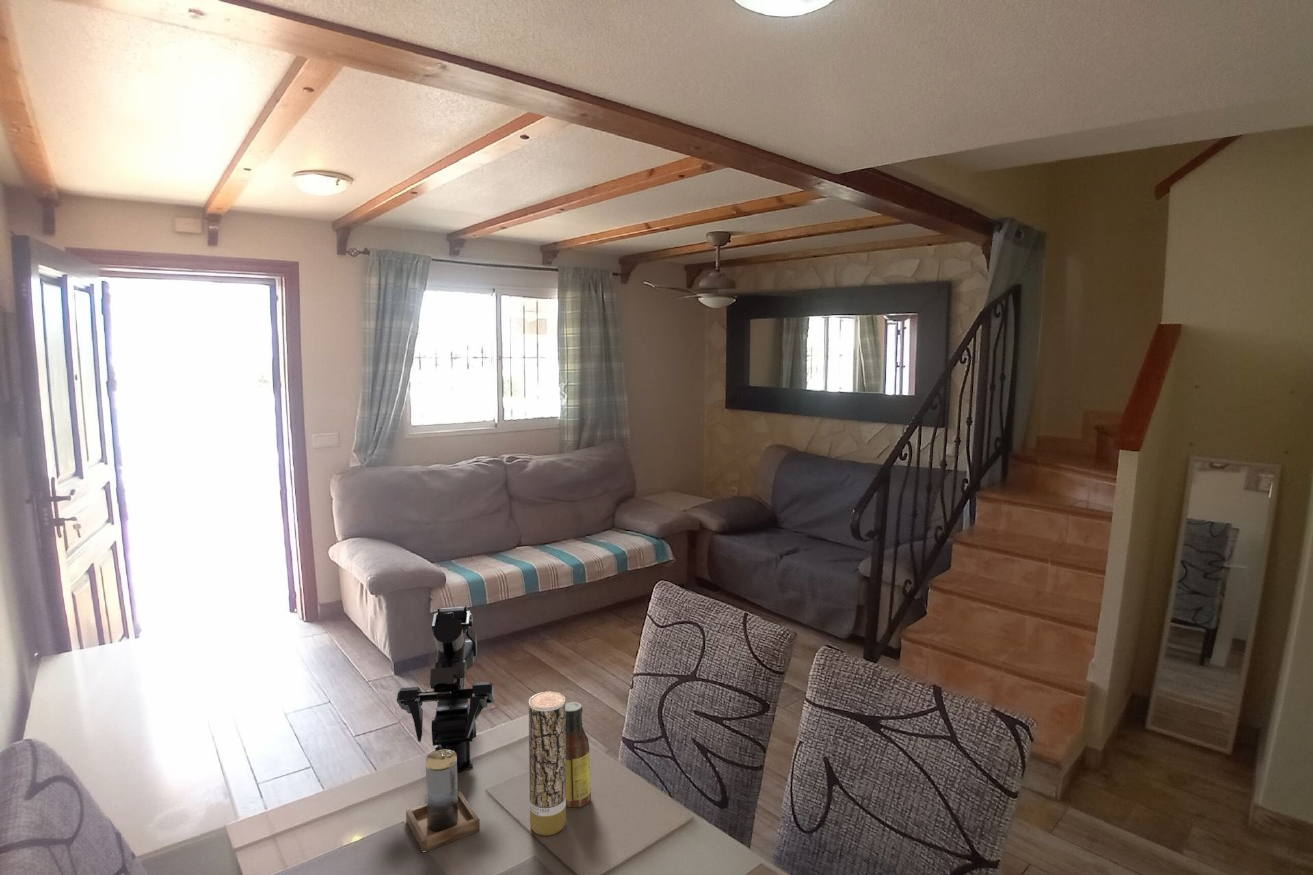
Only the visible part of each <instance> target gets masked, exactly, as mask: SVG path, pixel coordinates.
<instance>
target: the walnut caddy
mask: <svg viewBox="0 0 1313 875" xmlns="http://www.w3.org/2000/svg"><path fill="white" fill-rule="evenodd" d="M457 792H458V822H457V824H456V825H455V826H453V827H451V828H448V829H446V830H443V831H441V832H433V831H430V830H429V829H428V827H427V802H426V803H424V804H421V805H418V806H415V807H412V808H409V809H407V810H405V818H406V819H405V821H406V824H407V825H408V827H409V829H410V831H411V833H412V835H413V837H414V836H415V837H414V839H415V838H416V839H415V840H417V841H416V842H418V843H417V845H418V844H419V845H418V846H419V848H420V847H421V848H420V850H421V849H422V850H421V852H422V851H426V852H429V851H431V850H434V849H435V848H438V847H442V846H444V845H446V844H449V843H452V842H454V841H457V840H458V839H461V838H464V837H467V836H468V835H471V834H474V833H476V832H479V831H480V826H481V825H480V821H481V820H480V817H478V815H477V814H476V812H475V811H474V809H473V807H472V806H471V805H470V804H469V802H468V800H467V799H466V797H465V796H464V795H463V794H462V791H457Z"/></svg>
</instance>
